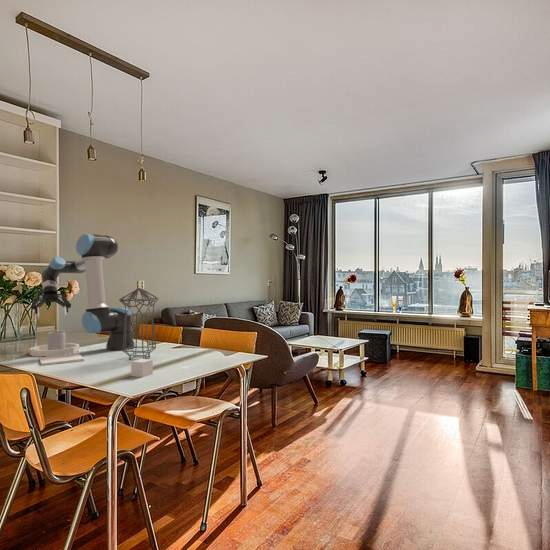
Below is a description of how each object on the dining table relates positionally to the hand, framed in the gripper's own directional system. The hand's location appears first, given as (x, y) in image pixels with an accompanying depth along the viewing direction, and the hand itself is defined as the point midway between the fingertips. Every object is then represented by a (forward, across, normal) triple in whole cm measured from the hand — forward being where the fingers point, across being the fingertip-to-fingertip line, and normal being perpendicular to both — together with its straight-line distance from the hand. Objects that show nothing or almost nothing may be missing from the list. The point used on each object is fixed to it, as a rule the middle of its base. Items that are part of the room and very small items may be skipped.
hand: (52, 316), depth 230 cm
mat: (+39, -1, +14) cm, 41 cm away
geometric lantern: (+52, -33, +27) cm, 68 cm away
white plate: (+21, 0, -5) cm, 21 cm away
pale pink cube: (+77, -25, +52) cm, 97 cm away
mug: (+21, 0, -5) cm, 22 cm away
